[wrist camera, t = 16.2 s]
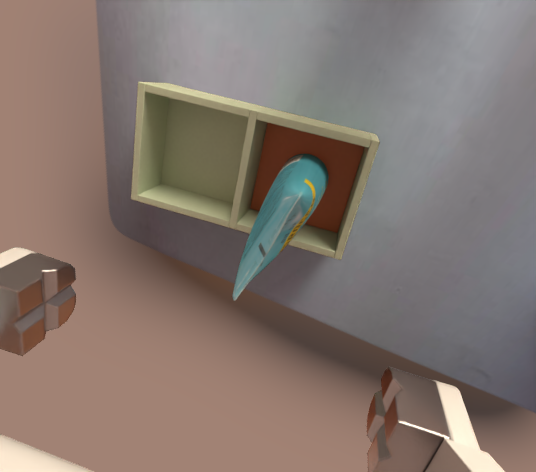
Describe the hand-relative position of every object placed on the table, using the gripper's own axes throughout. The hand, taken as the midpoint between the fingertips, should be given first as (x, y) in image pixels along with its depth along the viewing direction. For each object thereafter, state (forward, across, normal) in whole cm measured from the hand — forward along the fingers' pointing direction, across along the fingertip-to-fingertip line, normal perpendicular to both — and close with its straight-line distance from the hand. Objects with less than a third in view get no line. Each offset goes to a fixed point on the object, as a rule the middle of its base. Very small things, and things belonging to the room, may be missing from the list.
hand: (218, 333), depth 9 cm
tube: (+30, +1, +3) cm, 30 cm away
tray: (+30, +6, +3) cm, 31 cm away
